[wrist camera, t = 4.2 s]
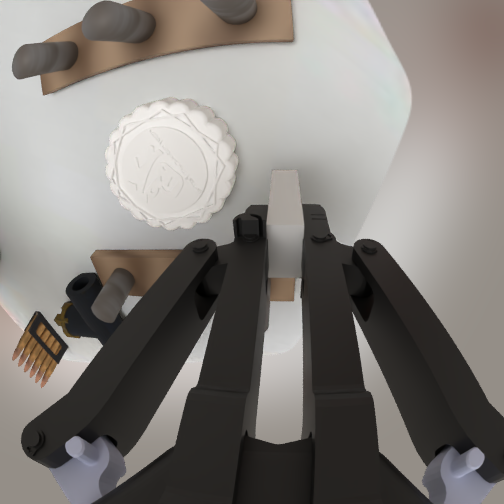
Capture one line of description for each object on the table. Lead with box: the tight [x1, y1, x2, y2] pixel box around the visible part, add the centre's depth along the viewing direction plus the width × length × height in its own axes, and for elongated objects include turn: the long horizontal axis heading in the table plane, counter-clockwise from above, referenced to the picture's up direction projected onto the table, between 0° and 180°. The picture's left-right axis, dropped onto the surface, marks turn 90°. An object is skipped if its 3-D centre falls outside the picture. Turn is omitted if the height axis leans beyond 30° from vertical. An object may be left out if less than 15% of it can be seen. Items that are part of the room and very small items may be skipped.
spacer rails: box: [12, 0, 295, 332], centre depth 21 cm, size 24×32×8 cm
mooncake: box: [105, 97, 239, 231], centre depth 23 cm, size 12×12×4 cm
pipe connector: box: [54, 273, 122, 346], centre depth 37 cm, size 12×5×15 cm
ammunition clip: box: [12, 312, 68, 388], centre depth 41 cm, size 11×2×12 cm, turn 11°
